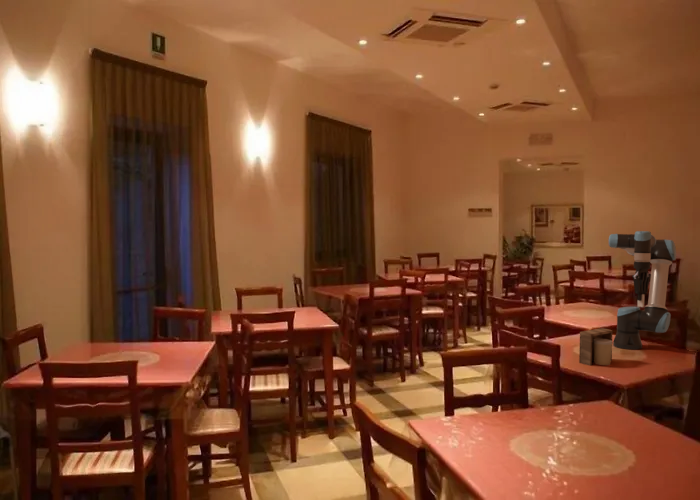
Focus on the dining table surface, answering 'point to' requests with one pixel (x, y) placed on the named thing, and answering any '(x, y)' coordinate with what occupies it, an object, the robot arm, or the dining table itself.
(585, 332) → the cubby
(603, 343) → the coffee cup
